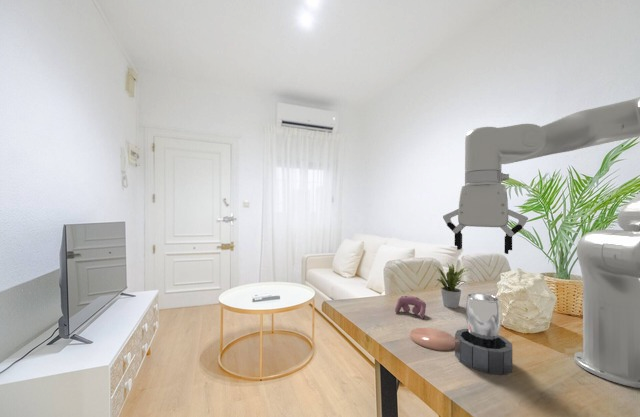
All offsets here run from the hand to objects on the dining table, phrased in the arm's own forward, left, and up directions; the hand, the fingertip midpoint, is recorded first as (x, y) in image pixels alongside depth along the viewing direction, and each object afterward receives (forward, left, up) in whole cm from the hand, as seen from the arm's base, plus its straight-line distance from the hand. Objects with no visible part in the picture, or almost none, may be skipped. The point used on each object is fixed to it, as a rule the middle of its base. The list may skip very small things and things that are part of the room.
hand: (482, 251), depth 63 cm
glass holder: (0, 0, -26) cm, 26 cm away
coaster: (+12, -4, -26) cm, 29 cm away
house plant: (+12, -37, -26) cm, 47 cm away
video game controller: (+23, -20, -26) cm, 40 cm away
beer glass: (0, 0, -26) cm, 26 cm away
